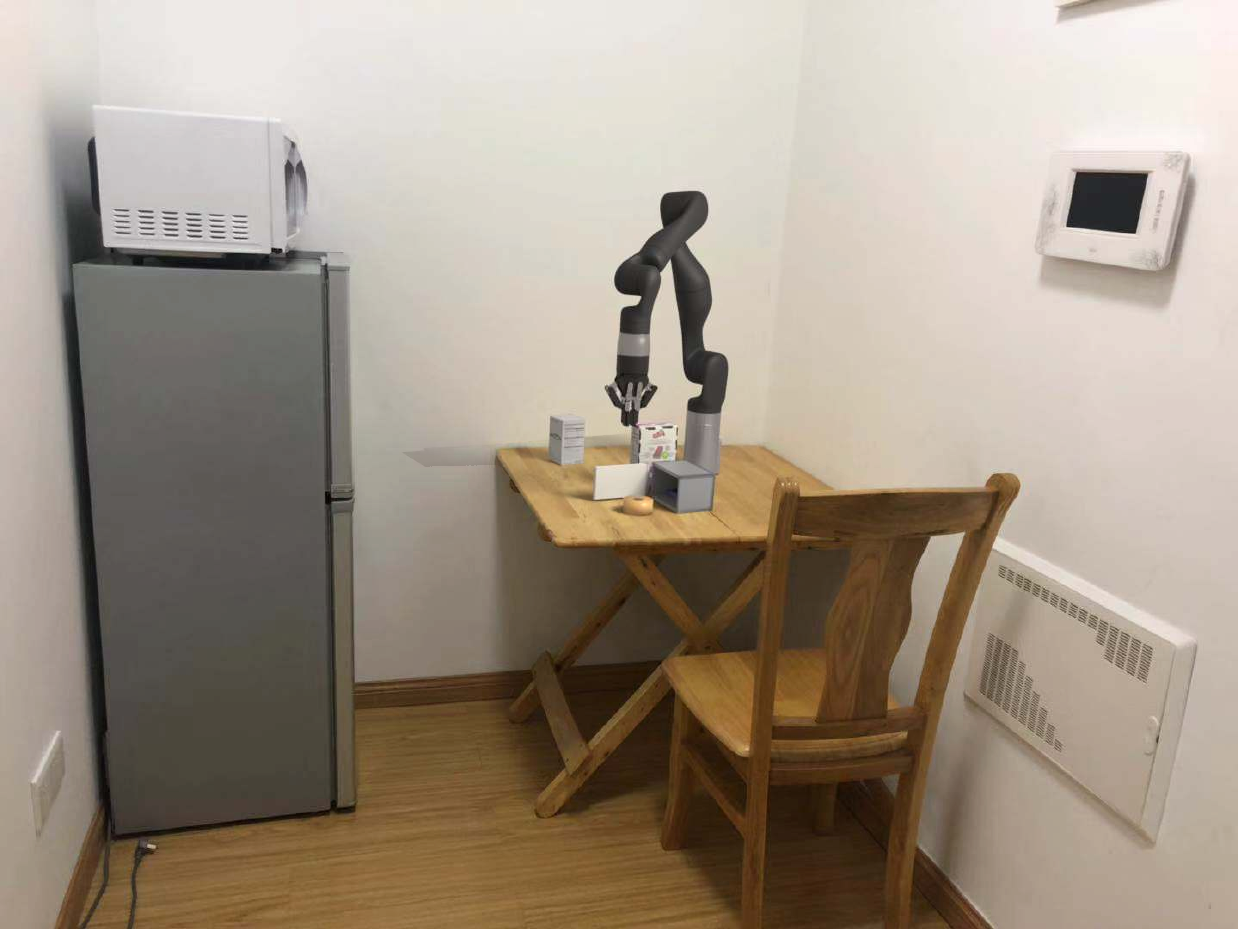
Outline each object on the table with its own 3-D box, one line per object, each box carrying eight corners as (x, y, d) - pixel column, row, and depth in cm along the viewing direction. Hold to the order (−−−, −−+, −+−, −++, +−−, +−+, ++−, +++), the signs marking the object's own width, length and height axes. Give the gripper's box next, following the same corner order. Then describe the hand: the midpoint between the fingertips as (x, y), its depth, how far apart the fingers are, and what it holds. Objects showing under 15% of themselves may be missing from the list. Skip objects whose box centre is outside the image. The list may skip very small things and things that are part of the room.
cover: (646, 496, 246) (648, 462, 244) (649, 497, 244) (651, 464, 242) (592, 500, 239) (594, 466, 237) (594, 502, 238) (596, 467, 236)
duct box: (683, 494, 249) (686, 459, 247) (712, 510, 237) (715, 473, 234) (650, 497, 245) (652, 461, 242) (677, 513, 233) (680, 476, 230)
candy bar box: (665, 483, 258) (669, 421, 254) (675, 488, 254) (679, 425, 250) (627, 486, 253) (631, 423, 249) (636, 491, 249) (640, 427, 245)
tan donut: (644, 506, 237) (644, 494, 236) (657, 514, 231) (658, 502, 230) (617, 508, 234) (618, 496, 233) (630, 517, 228) (631, 504, 227)
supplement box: (547, 459, 276) (549, 414, 273) (570, 457, 280) (572, 413, 277) (560, 465, 270) (562, 420, 267) (584, 463, 274) (586, 418, 271)
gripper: (651, 349, 236) (647, 421, 240) (600, 350, 230) (596, 423, 234) (667, 354, 229) (662, 428, 233) (613, 355, 223) (609, 430, 228)
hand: (629, 425), depth 234 cm, fingers closed
